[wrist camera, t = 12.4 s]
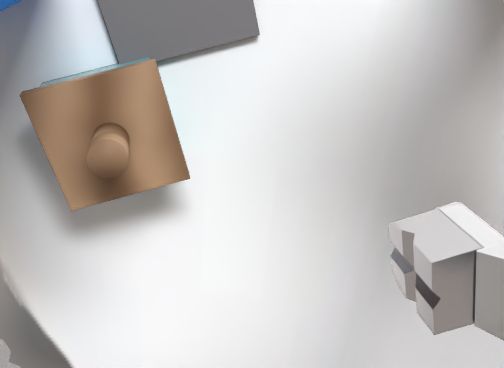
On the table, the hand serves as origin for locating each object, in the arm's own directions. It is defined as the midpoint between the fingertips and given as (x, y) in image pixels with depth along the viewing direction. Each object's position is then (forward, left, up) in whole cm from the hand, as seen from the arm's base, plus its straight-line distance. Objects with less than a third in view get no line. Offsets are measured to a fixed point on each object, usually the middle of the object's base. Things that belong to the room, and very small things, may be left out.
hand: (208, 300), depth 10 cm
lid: (+6, +6, -30) cm, 31 cm away
